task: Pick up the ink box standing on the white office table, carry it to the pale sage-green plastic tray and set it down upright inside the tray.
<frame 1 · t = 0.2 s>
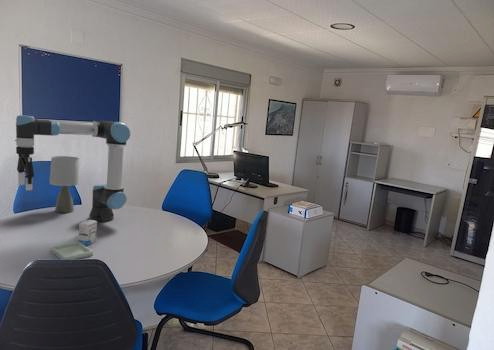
hand: (25, 187, 173), 28 cm above the table, fingers open, 13 cm apart
ink box: (87, 243, 181), on the table
lamp: (64, 211, 231), on the table
tray: (71, 253, 166), on the table
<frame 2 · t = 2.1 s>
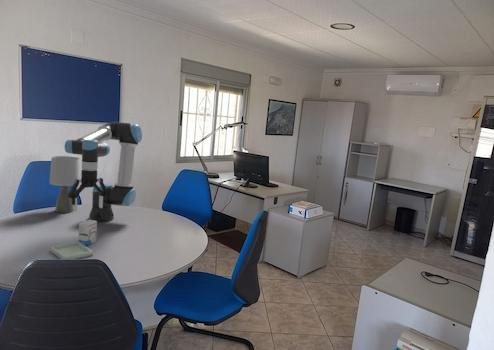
hand: (88, 209, 178), 19 cm above the table, fingers open, 13 cm apart
nothing on the table moved.
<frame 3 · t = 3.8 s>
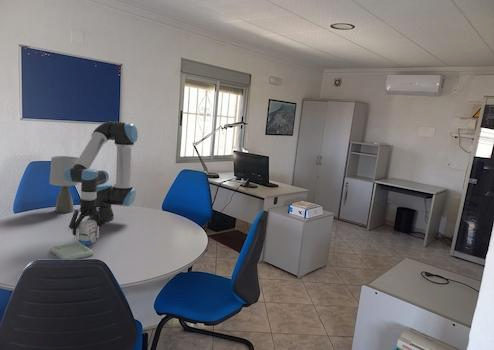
hand: (86, 238, 180), 2 cm above the table, fingers open, 10 cm apart
ink box: (87, 243, 181), on the table, touching gripper
everything else where it was.
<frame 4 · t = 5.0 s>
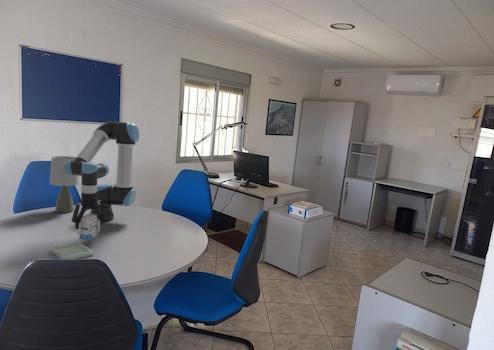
hand: (88, 232, 181), 6 cm above the table, fingers closed on ink box, 9 cm apart
ink box: (88, 237, 181), point 3 cm above the table, touching gripper
everything else where it was.
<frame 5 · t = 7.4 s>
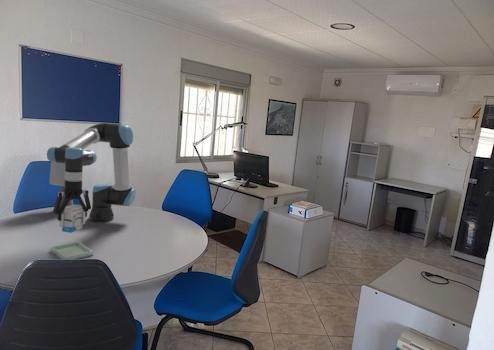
hand: (72, 225, 164), 14 cm above the table, fingers closed on ink box, 9 cm apart
ink box: (72, 230, 164), point 12 cm above the table, touching gripper
everything else where it was.
when the fingers open (3 cm above the table, at t = 9.8 s): ink box stays where it is, resting on tray.
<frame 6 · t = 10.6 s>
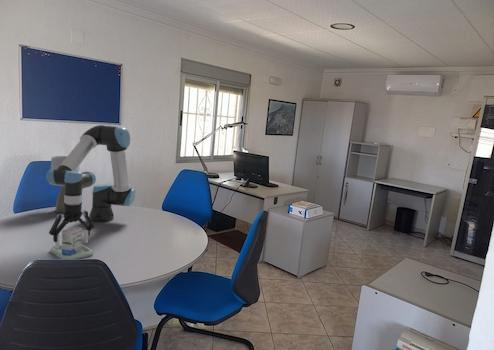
hand: (72, 245, 165), 4 cm above the table, fingers open, 13 cm apart
ink box: (71, 252, 166), resting on tray
everything else where it was.
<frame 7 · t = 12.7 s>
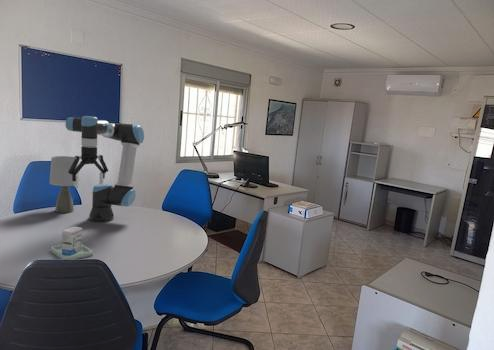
hand: (88, 185, 179), 31 cm above the table, fingers open, 13 cm apart
nothing on the table moved.
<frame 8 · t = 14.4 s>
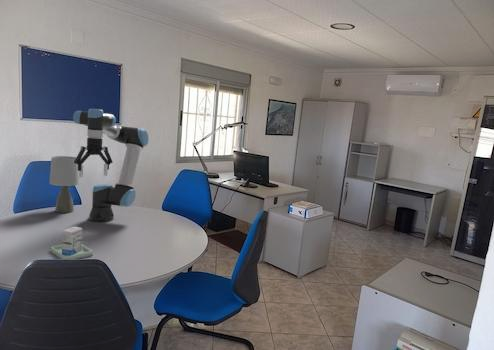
hand: (93, 176, 185), 35 cm above the table, fingers open, 13 cm apart
nothing on the table moved.
at the end: ink box inside the target area on the tray (0.1 cm from its centre), point 0.4 cm above the tray's base; ink box tilted 0°; the gripper is holding nothing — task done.
